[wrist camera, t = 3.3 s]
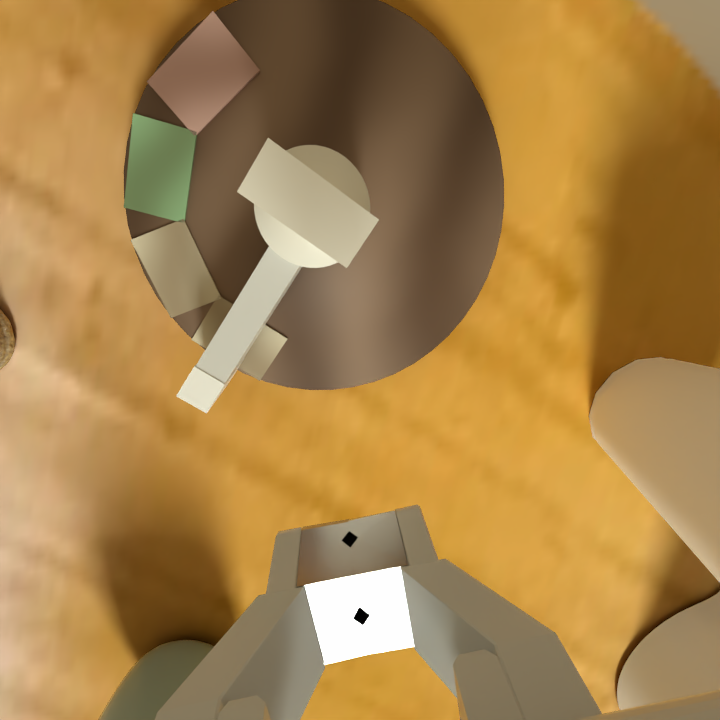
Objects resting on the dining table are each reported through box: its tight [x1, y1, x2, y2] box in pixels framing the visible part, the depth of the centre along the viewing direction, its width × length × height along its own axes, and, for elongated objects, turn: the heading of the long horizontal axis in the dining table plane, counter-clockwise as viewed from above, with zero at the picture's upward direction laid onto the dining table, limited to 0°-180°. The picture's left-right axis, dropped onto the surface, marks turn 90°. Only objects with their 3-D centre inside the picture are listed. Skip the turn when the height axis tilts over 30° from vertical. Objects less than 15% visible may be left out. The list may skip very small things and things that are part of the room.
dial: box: [124, 0, 504, 390], centre depth 20 cm, size 17×17×1 cm
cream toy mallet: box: [177, 138, 379, 413], centre depth 17 cm, size 11×4×6 cm, turn 145°
